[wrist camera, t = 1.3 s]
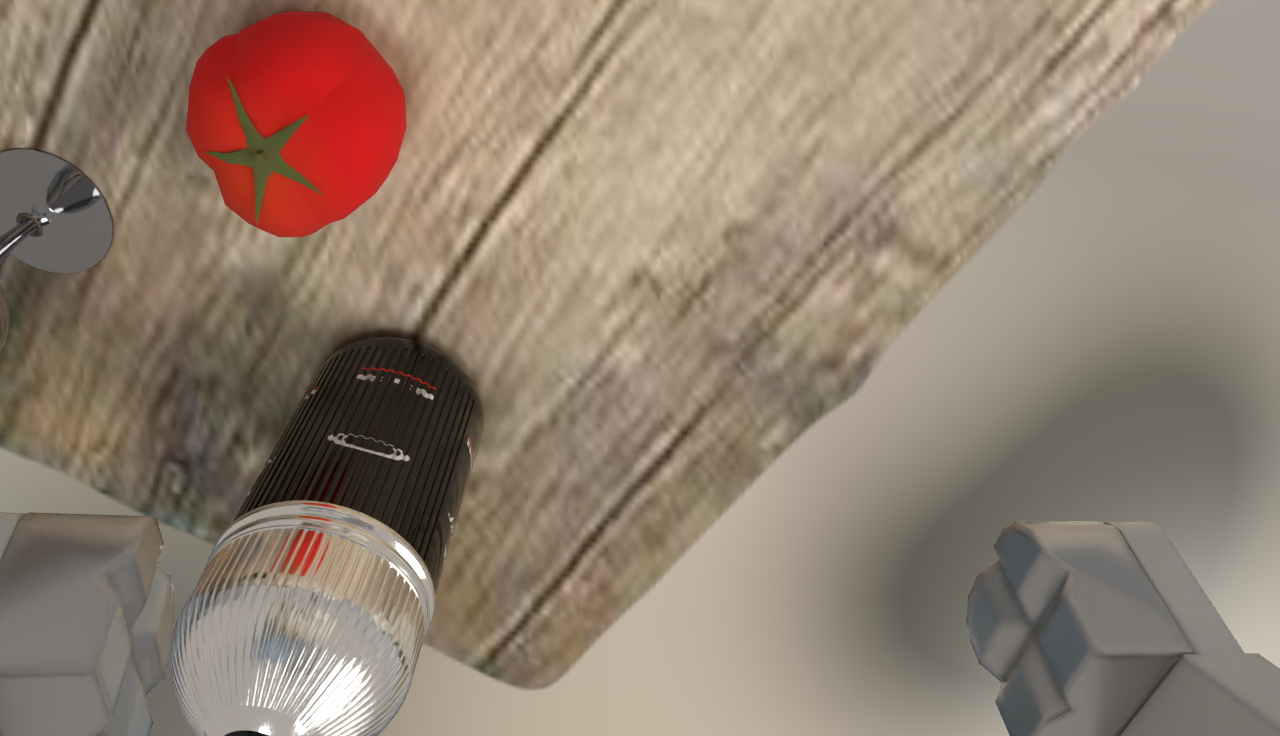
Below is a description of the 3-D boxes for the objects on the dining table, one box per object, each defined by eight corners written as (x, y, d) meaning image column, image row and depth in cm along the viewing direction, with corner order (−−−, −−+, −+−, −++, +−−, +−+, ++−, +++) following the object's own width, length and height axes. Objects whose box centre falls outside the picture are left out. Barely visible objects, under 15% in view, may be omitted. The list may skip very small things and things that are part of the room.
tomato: (434, 19, 49) (390, 73, 42) (407, 215, 55) (364, 291, 48) (233, -33, 48) (154, 13, 41) (227, 171, 54) (156, 243, 47)
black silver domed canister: (302, 444, 63) (104, 818, 42) (327, 302, 58) (115, 649, 37) (468, 489, 64) (358, 875, 43) (509, 354, 59) (405, 719, 38)
